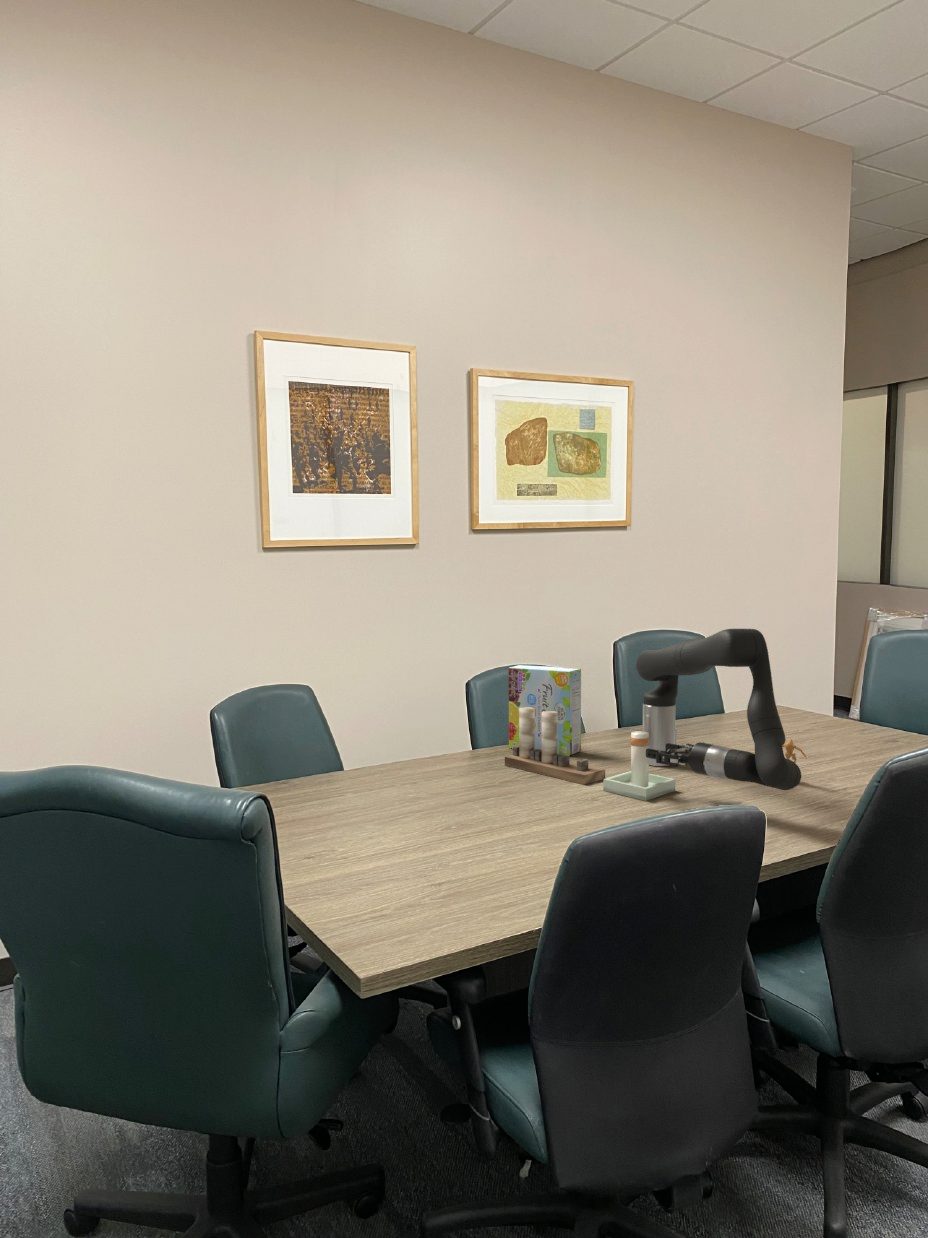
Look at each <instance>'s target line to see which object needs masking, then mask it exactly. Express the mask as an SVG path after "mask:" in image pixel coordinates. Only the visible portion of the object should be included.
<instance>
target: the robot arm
mask: <svg viewBox="0 0 928 1238" xmlns="http://www.w3.org/2000/svg"><path fill="white" fill-rule="evenodd" d="M769 656H770V655H769V651H768V645H767V641H766V638H765V637H764V635H763V633H762V632H761V631H760V630H758V629H755V628H726V629H722V630H720V631H717V632H716V633H713V634H711V635H709V636H707V637H698V638H692V639H688V640H684V641H680V642H678V643H674V644H671V645H668V646H665V647H663V648H647V649H644V650H642V651H641V652H640V653H639V655H638V657H637V659H636V662H635V663H636V664H635V666H636V667H635V668H636V669H635V670H636V671H637V674H638V676H639V677H640V678H642V680H645V681H648V682H658V684H657V685H656V686H655V687H653V688H652V689H651V690H648V691H646V692H645V693H644V694H643V696H642V731H643V732H648V733H649V749H646V757H647V758H649V766H653V767H669V766H673V767H679V766H680V765H681V766H687V765H688V766H689V768H690V770H691V771H692V772H693V773H694V774H698V775H701V776H702V775H703V776H708V777H713V778H719V779H729V780H734V781H738V782H744V783H745V782H746V783H753V784H757V785H761V786H765V787H769V788H773V789H776V790H781V791H782V790H783V791H790V790H792V789H795V788H796V787H798V785H799V784H800V782H801V780H802V771H801V768H800V767H799V765H797V763H794V760H791V759H787V758H786V756H785V752H784V750H783V747H782V745H784V744H785V743H786V735H785V734H786V733H785V731H784V727H783V724H782V721H781V718H780V715H779V711H778V708H777V702H776V699H775V692H774V686H773V677H772V670H771V662H770V657H769ZM713 667H729V668H746V667H747V668H749V670H750V672H751V676H752V688H751V689H752V690H751V693H750V697H749V700H748V704H747V708H746V719H747V723H748V727H749V730H750V734H751V737H752V741H753V743H754V753H753V752H750V751H746V750H741V749H736V748H735V749H734V748H731V747H727V746H724V745H719V744H711V743H706V742H697V743H695V744H692V743H686V744H683V743H682V744H677V734H678V733H677V729H676V711H677V710H676V708H677V707H676V701H677V697H678V691H679V690H678V689H679V676H693V675H694V676H695V675H701V674H705V673H707V672H708V671H710V670H711V669H712V668H713Z"/></svg>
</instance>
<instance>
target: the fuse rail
mask: <svg viewBox="0 0 928 1238" xmlns="http://www.w3.org/2000/svg"><path fill="white" fill-rule="evenodd" d="M570 756H571V755H564V754H557V712H555V711H544V712H542V750H541V749H535V708H532V707H522V708H519V746H514V747H513V749H512V754H511V755H506V756H504V766H507V767H510V768H514V769H519V770H523V771H527V772H532V773H535V774H540V775H543V776H544V775H545V776H547V777H551V778H556V779H560V780H563V781H566V782H567V781H568V782H572V783H576V784H580V785H587V784H590V783H594V782H595V783H596V782H598V781H602V780H604V779H606V768H602V767H597V766H593V765H590V764H589V759H587V758H582V759H580V760H577V761H576V762H574V761H571V759H570Z"/></svg>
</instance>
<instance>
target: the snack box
mask: <svg viewBox="0 0 928 1238" xmlns="http://www.w3.org/2000/svg"><path fill="white" fill-rule="evenodd" d="M522 707H532V708H535V749H541V750H542V712H544V711H555V712H557V754H564V755H569V756H572V755H575V754H578V753H579V752H581V751H582V728H581V727H582V668H570V667H558V666H546V665H545V666H543V665H542V666H540V665H524V664H523V665H522V664H521V665H520V664H519V665H515V666H509V667H508V749H511V748H513V747H514V746H519V708H522Z"/></svg>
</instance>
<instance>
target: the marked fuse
mask: <svg viewBox="0 0 928 1238" xmlns="http://www.w3.org/2000/svg"><path fill="white" fill-rule="evenodd" d="M646 749H649V733H648V732H643V730H642V731H640V730H639V731H637V730H635V731H631V732H630V771H631V784H632V785H636V786H641V787H648V778H649V774H650V773H649V770H650V769H649V767H650V765H649V758H647V757H646Z"/></svg>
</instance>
